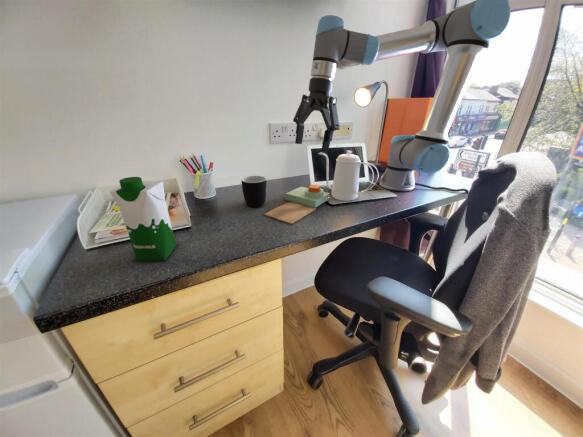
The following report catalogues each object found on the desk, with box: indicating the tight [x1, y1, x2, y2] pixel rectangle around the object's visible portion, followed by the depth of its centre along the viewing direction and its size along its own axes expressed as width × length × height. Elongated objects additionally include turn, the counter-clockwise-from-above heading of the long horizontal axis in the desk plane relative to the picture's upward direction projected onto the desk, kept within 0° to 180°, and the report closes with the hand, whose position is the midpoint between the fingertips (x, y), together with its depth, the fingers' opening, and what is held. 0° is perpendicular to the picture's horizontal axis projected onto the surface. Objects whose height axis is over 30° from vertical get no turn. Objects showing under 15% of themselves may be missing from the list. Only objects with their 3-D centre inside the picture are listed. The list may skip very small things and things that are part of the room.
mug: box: [240, 175, 267, 209], centre depth 89 cm, size 12×9×10 cm
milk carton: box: [109, 176, 178, 262], centre depth 56 cm, size 9×9×20 cm
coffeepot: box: [317, 150, 380, 202], centre depth 94 cm, size 11×25×19 cm, turn 62°
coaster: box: [263, 200, 317, 225], centre depth 84 cm, size 12×15×1 cm
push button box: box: [284, 186, 331, 209], centre depth 94 cm, size 14×11×4 cm
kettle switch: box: [308, 184, 321, 193], centre depth 91 cm, size 4×4×2 cm
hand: (310, 147), depth 84 cm, fingers open, 13 cm apart
